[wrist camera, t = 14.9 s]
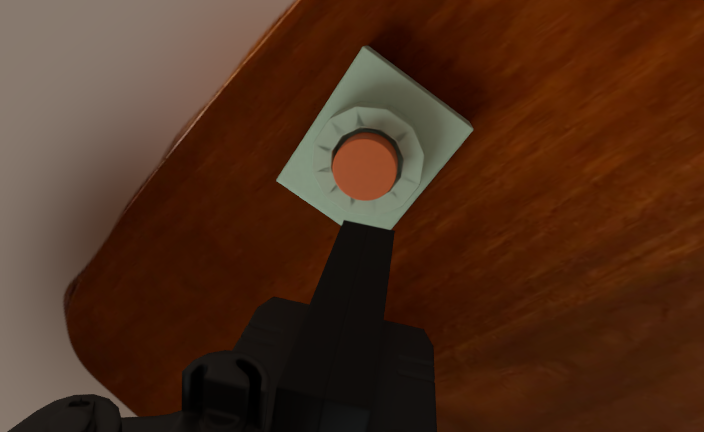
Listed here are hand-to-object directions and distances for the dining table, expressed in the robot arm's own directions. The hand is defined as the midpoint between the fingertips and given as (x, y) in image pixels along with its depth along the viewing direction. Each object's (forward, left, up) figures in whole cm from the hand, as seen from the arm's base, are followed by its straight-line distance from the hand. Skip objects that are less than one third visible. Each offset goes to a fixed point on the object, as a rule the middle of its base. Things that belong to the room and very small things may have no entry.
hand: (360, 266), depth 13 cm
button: (+1, -1, -14) cm, 14 cm away
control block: (+1, -1, -17) cm, 17 cm away
